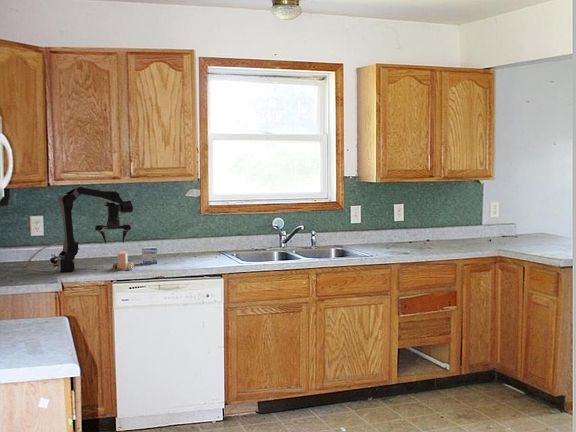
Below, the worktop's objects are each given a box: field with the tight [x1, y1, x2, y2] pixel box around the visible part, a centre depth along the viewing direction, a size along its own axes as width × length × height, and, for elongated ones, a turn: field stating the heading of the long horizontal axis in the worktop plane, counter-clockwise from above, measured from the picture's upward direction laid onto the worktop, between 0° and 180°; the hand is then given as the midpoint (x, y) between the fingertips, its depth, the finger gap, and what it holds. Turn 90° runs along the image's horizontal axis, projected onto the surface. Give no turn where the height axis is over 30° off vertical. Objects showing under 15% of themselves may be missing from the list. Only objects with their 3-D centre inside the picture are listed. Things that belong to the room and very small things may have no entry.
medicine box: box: [141, 246, 158, 265], centre depth 375 cm, size 8×4×9 cm, turn 106°
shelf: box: [111, 261, 135, 272], centre depth 360 cm, size 10×11×3 cm
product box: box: [117, 250, 129, 269], centre depth 359 cm, size 7×4×8 cm, turn 4°
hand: (114, 243), depth 369 cm, fingers open, 9 cm apart
